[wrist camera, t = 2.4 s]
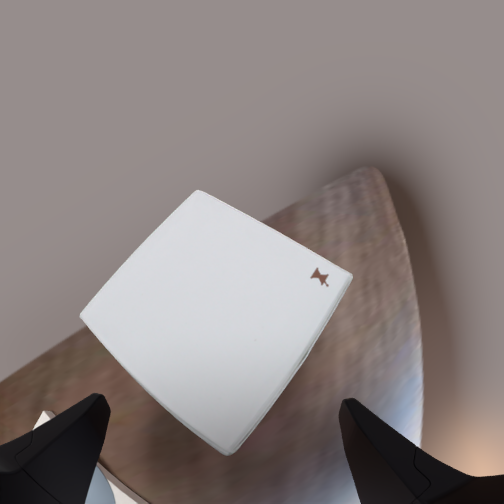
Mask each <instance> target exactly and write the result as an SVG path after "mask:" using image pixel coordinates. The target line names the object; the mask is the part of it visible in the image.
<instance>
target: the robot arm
mask: <svg viewBox="0 0 504 504" xmlns="http://www.w3.org/2000/svg"><path fill="white" fill-rule="evenodd" d="M110 413H111V410H110V407H109V405H108V403H107V401H106V399H105V397H104V395H102V394H98V393H93V394H91V395H90V396H88V397H86V398H85V399H83V400H82V401H80V402H78V403H77V404H75V405H73V406H72V407H70V408H69V409H67V410H65V411H64V412H62V413H60V414H59V415H57V416H55V417H54V418H52V419H50V420H49V421H47V422H45V423H43V424H42V425H40V426H38V427H37V428H35V429H34V430H31V431H30V432H28V433H26V434H24V435H22V436H21V437H19V438H16V439H14V440H12V441H10V442H8V443H5V444H3V445H0V504H85V502H86V498H87V494H88V491H89V488H90V484H91V481H92V478H93V474H94V471H95V468H96V465H97V462H98V459H99V456H100V453H101V450H102V447H103V443H104V440H105V435H106V431H107V426H108V422H109V418H110ZM339 422H340V428H341V433H342V439H343V444H344V450H345V454H346V457H347V460H348V464H349V467H350V470H351V473H352V476H353V480H354V483H355V486H356V489H357V493H358V496H359V499H360V503H361V504H504V475H495V476H485V477H475V476H470V475H467V474H465V473H462V472H460V471H458V470H456V469H454V468H452V467H450V466H448V465H446V464H444V463H442V462H441V461H439V460H437V459H435V458H434V457H432V456H430V455H429V454H427V453H426V452H424V451H423V450H422V449H420V448H419V447H416V445H415V444H413V443H412V442H410V441H409V440H408V439H406V438H405V437H404V436H402V435H401V434H400V433H398V432H397V431H396V430H394V429H393V428H392V427H390V426H389V425H388V424H387V423H385V422H384V421H383V420H381V419H380V418H379V417H378V416H376V415H375V414H374V413H372V412H371V411H370V410H369V409H367V408H366V407H365V406H364V405H362V404H361V403H360V402H359V401H357V400H356V399H355V398H349V399H344V400H343V401H342V404H341V408H340V411H339Z"/></svg>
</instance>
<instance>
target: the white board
mask: <svg viewBox="0 0 504 504" xmlns="http://www.w3.org/2000/svg"><path fill="white" fill-rule="evenodd" d="M54 417H55V415H54V414H53V412H52V411H43V413H42V414H41V416H40V418H39V420H38V422H37V423H36V425H35V427H34V429H35V428H37V427H38V426H40V425H42V424H43V423H45V422H47V421H49V420H50V419H52V418H54ZM34 429H33V430H34ZM85 504H149V503H148V502H146V501H145V500H144V499H142V498H141V497H139V496H138V495H137V494H135V493H134V492H133V491H131V490H130V489H129V488H128V487H126V486H125V485H124V484H123V483H121V482H120V481H119V480H118V479H117V478H115V477H114V476H113V475H112V474H111V473H110V472H108V471H107V470H106V469H105V468H104V467H103V466H102V465H101V464H100V463H99V462H97V465H96V468H95V471H94V474H93V478H92V481H91V484H90V488H89V491H88V494H87V498H86V502H85Z"/></svg>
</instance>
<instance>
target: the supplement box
mask: <svg viewBox="0 0 504 504" xmlns="http://www.w3.org/2000/svg"><path fill="white" fill-rule="evenodd" d="M352 279H353V276H352V274H351V273H349V272H347V271H346V270H344V269H342V268H340V267H339V266H337V265H335V264H333V263H331V262H330V261H328V260H326V259H325V258H323V257H321V256H320V255H318V254H316V253H314V252H313V251H311V250H309V249H307V248H306V247H304V246H302V245H300V244H299V243H297V242H295V241H293V240H292V239H290V238H288V237H286V236H285V235H283V234H281V233H279V232H278V231H276V230H274V229H272V228H270V227H268V226H267V225H265V224H263V223H261V222H259V221H258V220H256V219H254V218H252V217H250V216H248V215H247V214H245V213H243V212H241V211H239V210H237V209H235V208H234V207H232V206H230V205H228V204H226V203H225V202H222V201H220V200H219V199H217V198H215V197H213V196H211V195H209V194H207V193H205V192H203V191H200V190H196V191H195V192H193V193H192V194H191V195H190V196H189V197H188V198H187V199H186V200H185V201H184V202H183V203H182V204H181V205H180V206H179V207H178V208H177V209H176V210H175V211H174V212H173V213H172V214H171V215H170V216H169V217H168V218H167V219H166V220H165V221H164V222H163V223H162V224H161V225H160V226H159V227H158V228H157V229H156V230H155V231H154V232H153V233H152V234H151V235H150V236H149V237H148V238H147V239H146V240H145V241H144V242H143V243H142V244H141V245H140V246H139V247H138V248H137V249H136V250H135V252H134V253H133V254H132V255H131V256H130V257H129V258H128V259H127V260H126V261H125V263H124V264H123V265H122V266H121V267H120V268H119V269H118V270H117V271H116V272H115V274H114V275H113V276H112V277H111V278H110V279H109V280H108V281H107V282H106V284H105V285H104V286H103V287H102V288H101V290H100V291H99V292H98V293H97V294H96V295H95V296H94V298H93V299H92V300H91V301H90V302H89V304H88V305H87V306H86V307H85V308H84V310H83V311H82V312H81V313H80V317H81V319H82V320H83V321H84V322H85V324H86V325H87V326H88V327H89V329H90V330H91V331H92V332H93V333H94V334H95V336H96V337H97V338H98V339H99V340H100V341H101V343H102V344H103V345H104V346H105V347H106V348H107V350H108V351H109V352H110V353H111V354H112V355H113V356H114V358H115V359H116V360H117V361H118V362H119V363H120V364H121V365H122V366H123V368H124V369H125V370H126V371H127V372H128V373H129V374H130V375H131V376H132V377H133V378H134V379H135V380H136V381H137V382H138V383H139V384H140V385H141V386H142V387H143V388H144V389H145V390H146V391H147V392H148V393H149V394H150V395H151V396H152V397H153V398H154V399H155V400H156V401H157V402H158V403H159V404H161V405H162V406H163V407H164V408H165V409H166V410H167V411H168V412H170V413H171V414H172V415H173V416H174V417H175V418H176V419H178V420H179V421H180V422H181V423H182V424H184V425H185V426H186V427H187V428H188V429H190V430H191V431H192V432H193V433H195V434H196V435H197V436H199V437H200V438H201V439H203V440H204V441H205V442H207V443H208V444H209V445H211V446H212V447H213V448H215V449H216V450H217V451H219V452H220V453H222V454H223V455H226V456H229V455H232V454H233V453H235V452H236V451H237V450H238V449H239V447H240V446H241V445H242V444H243V443H244V442H245V440H246V439H247V438H248V437H249V435H250V434H251V433H252V432H253V430H254V429H255V428H256V427H257V425H258V424H259V423H260V421H261V420H262V419H263V418H264V416H265V415H266V414H267V412H268V411H269V410H270V408H271V407H272V406H273V404H274V403H275V402H276V400H277V399H278V397H279V396H280V395H281V393H282V392H283V391H284V389H285V388H286V386H287V385H288V384H289V382H290V381H291V379H292V378H293V376H294V375H295V374H296V372H297V371H298V369H299V368H300V366H301V365H302V364H303V362H304V361H305V359H306V358H307V356H308V355H309V353H310V351H311V349H312V347H313V346H314V344H315V342H316V341H317V339H318V338H319V336H320V334H321V333H322V331H323V329H324V328H325V326H326V324H327V323H328V321H329V319H330V318H331V316H332V314H333V313H334V311H335V309H336V308H337V306H338V304H339V302H340V301H341V299H342V297H343V295H344V293H345V292H346V290H347V288H348V286H349V285H350V283H351V281H352Z"/></svg>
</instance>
